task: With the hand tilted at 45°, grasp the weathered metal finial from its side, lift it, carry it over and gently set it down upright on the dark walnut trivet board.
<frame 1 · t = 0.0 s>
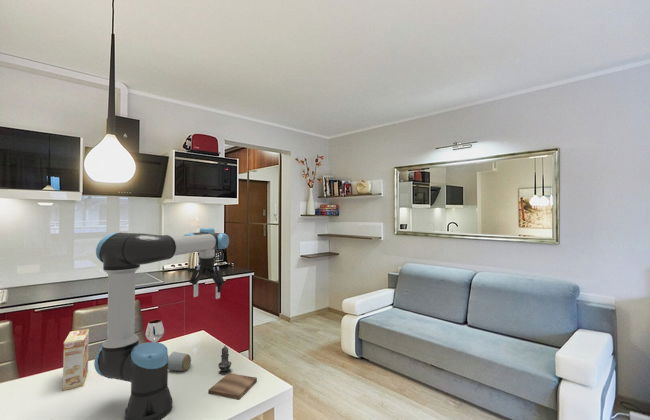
hand: (206, 297, 165), 28 cm above the table, tool pointing down, fingers open, 13 cm apart
ceramic mug: (180, 368, 146), on the table
weathered metal finial: (224, 372, 142), on the table
coffeecake box: (76, 381, 135), on the table
walnut trivet board: (233, 387, 130), on the table
wineglass: (154, 358, 156), on the table
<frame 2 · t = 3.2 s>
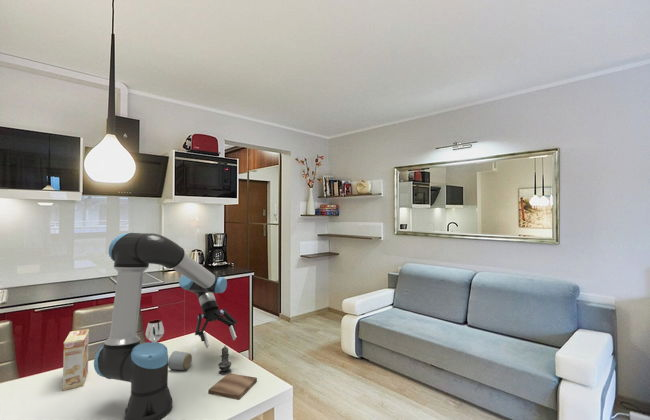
hand: (221, 342, 147), 11 cm above the table, tool tilted 45°, fingers open, 13 cm apart
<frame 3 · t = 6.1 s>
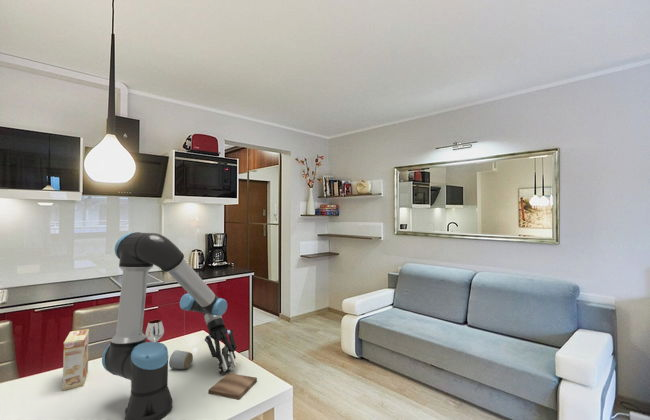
hand: (230, 368, 138), 3 cm above the table, tool tilted 45°, fingers closed on weathered metal finial, 4 cm apart
weathered metal finial: (224, 372, 142), on the table, touching gripper
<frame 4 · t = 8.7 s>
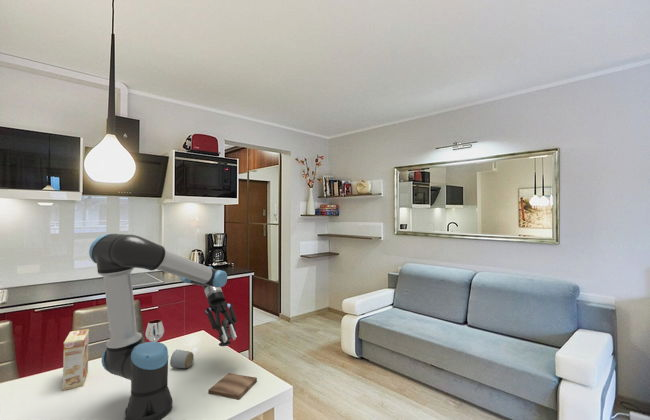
hand: (230, 339, 139), 16 cm above the table, tool tilted 45°, fingers closed on weathered metal finial, 4 cm apart
weathered metal finial: (224, 344, 142), point 12 cm above the table, touching gripper
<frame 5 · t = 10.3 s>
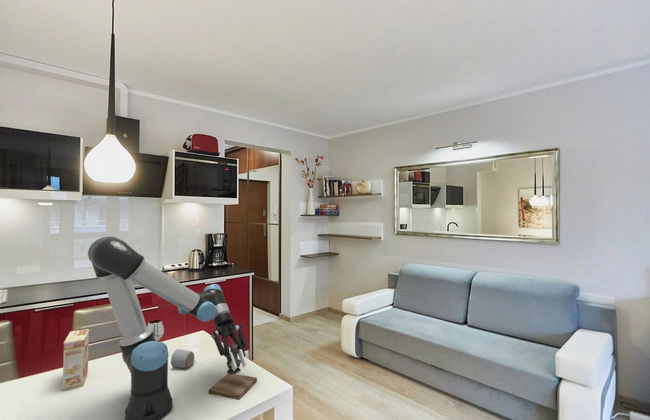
hand: (240, 367, 126), 10 cm above the table, tool tilted 45°, fingers closed on weathered metal finial, 4 cm apart
weathered metal finial: (233, 371, 130), point 6 cm above the table, touching gripper
when the fingers open (6 cm above the table, at t = 11.4 s): weathered metal finial stays where it is, resting on walnut trivet board.
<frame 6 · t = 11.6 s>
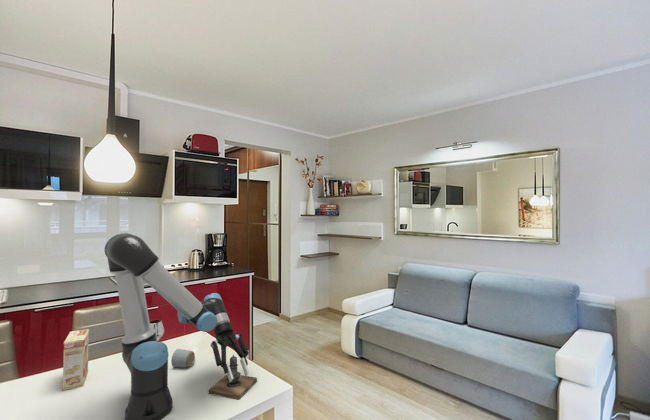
hand: (239, 377, 126), 6 cm above the table, tool tilted 45°, fingers open, 6 cm apart
weathered metal finial: (233, 384, 130), point 1 cm above the table, touching walnut trivet board
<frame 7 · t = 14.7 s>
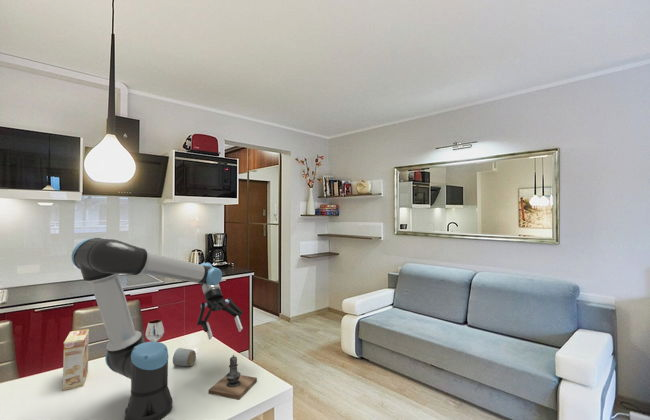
hand: (226, 333, 134), 20 cm above the table, tool tilted 45°, fingers open, 13 cm apart
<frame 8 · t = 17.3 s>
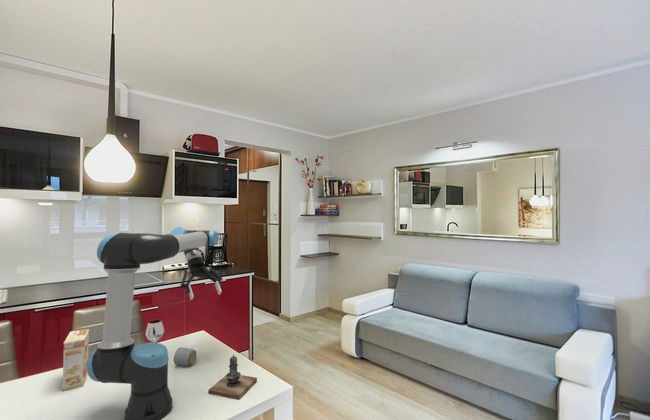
hand: (206, 295, 150), 33 cm above the table, tool tilted 45°, fingers open, 13 cm apart
at the end: weathered metal finial inside the target area on the walnut trivet board (0.1 cm from its centre), point 1.3 cm above the walnut trivet board's base; weathered metal finial tilted 0°; the gripper is holding nothing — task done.
